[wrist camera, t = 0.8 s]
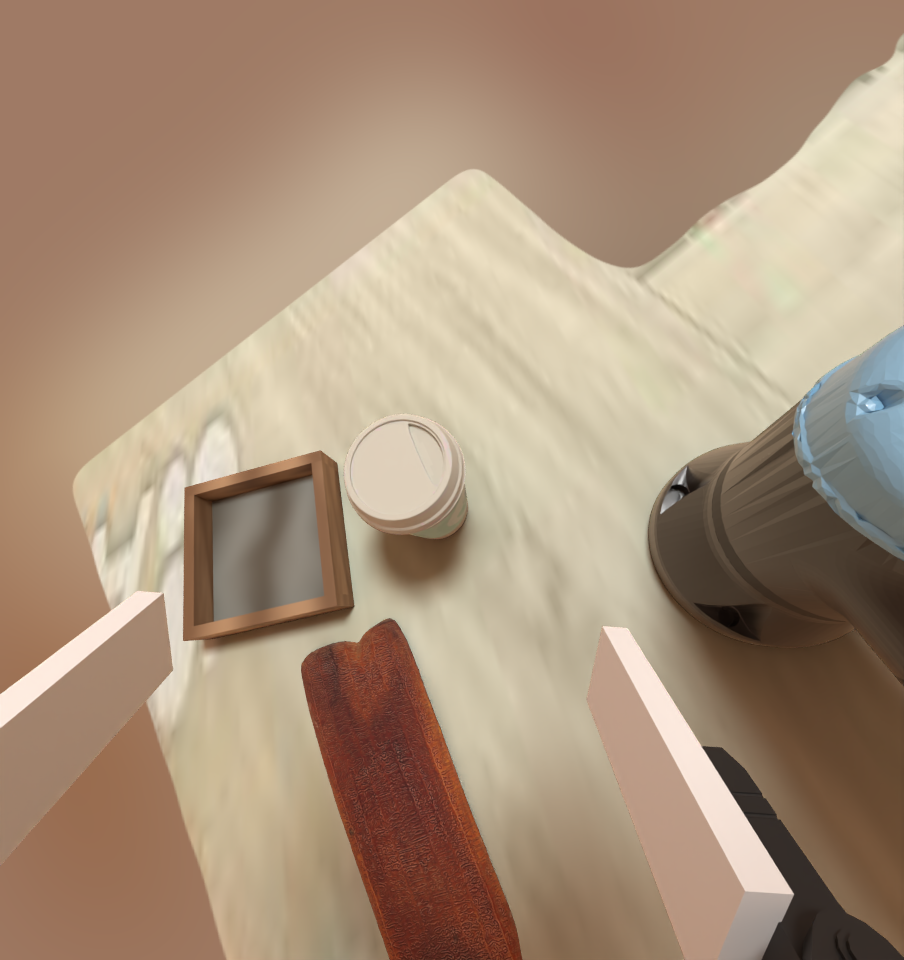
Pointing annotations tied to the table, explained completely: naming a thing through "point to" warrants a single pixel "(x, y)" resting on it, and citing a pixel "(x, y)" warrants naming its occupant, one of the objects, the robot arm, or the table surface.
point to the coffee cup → (407, 477)
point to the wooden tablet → (404, 803)
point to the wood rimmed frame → (264, 548)
